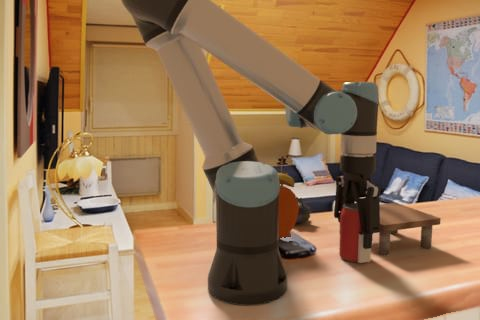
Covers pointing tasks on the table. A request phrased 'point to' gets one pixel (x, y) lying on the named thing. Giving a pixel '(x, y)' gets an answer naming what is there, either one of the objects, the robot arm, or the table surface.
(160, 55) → the robot arm
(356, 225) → the beer can
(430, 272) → the table surface
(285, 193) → the alarm clock
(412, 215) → the peg shelf
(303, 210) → the frog
